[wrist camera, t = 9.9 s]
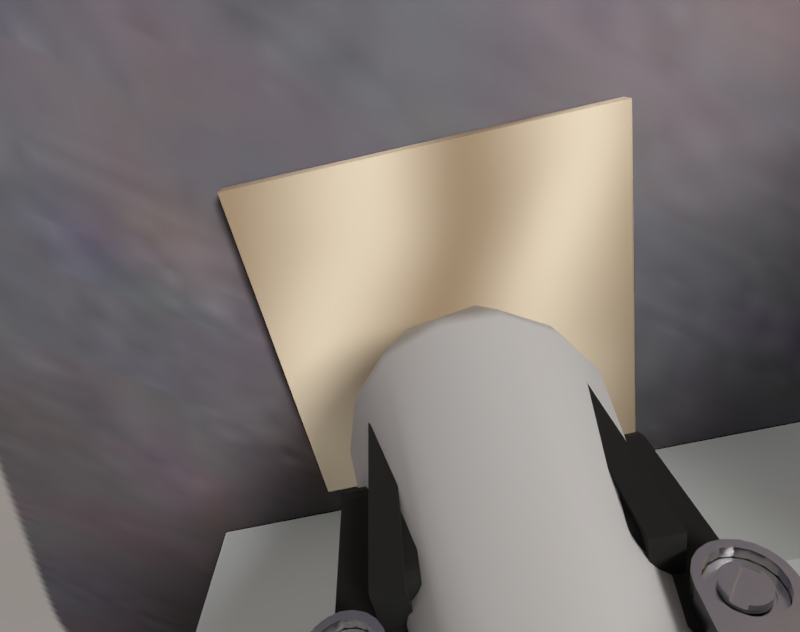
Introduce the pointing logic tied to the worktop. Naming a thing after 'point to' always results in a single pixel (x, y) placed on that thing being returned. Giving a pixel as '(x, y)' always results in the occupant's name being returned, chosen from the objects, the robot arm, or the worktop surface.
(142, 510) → the worktop surface
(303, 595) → the acrylic wall
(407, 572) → the robot arm
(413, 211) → the coaster board
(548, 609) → the salt shaker
